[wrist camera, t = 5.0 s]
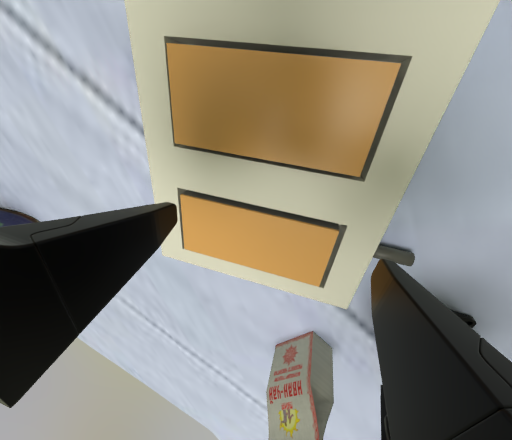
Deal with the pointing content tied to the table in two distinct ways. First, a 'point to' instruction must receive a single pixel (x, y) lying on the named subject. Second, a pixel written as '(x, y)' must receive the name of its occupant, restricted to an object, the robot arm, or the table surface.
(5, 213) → the flask
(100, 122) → the table surface
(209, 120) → the orange drawer
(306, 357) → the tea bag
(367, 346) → the table surface
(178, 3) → the cream board with panels
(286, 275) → the orange cabinet drawer
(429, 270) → the table surface
